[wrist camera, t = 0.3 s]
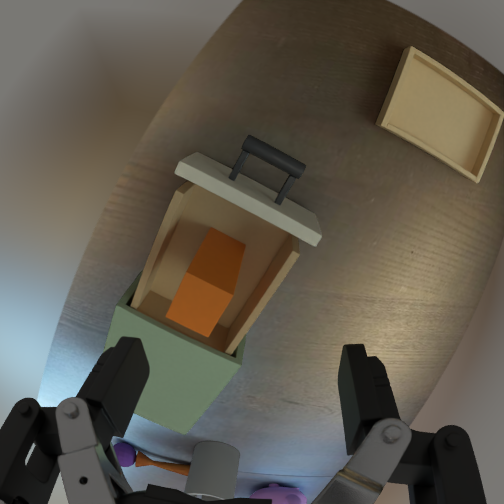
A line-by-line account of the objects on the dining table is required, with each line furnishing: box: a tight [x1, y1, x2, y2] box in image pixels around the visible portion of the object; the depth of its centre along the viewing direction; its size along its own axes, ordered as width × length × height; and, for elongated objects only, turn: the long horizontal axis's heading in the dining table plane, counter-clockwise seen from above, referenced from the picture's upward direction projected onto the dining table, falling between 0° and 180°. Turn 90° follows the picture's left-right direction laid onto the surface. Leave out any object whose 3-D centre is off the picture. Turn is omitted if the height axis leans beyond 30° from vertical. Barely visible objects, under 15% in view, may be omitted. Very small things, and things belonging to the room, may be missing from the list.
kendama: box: [113, 442, 191, 476], centre depth 56 cm, size 6×6×20 cm
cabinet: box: [103, 271, 246, 435], centre depth 39 cm, size 19×15×8 cm
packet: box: [165, 227, 246, 337], centre depth 29 cm, size 5×4×10 cm
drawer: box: [130, 135, 322, 356], centre depth 31 cm, size 22×13×6 cm, turn 152°
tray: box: [375, 46, 504, 184], centre depth 26 cm, size 13×9×2 cm
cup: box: [184, 441, 240, 501], centre depth 49 cm, size 9×9×12 cm
